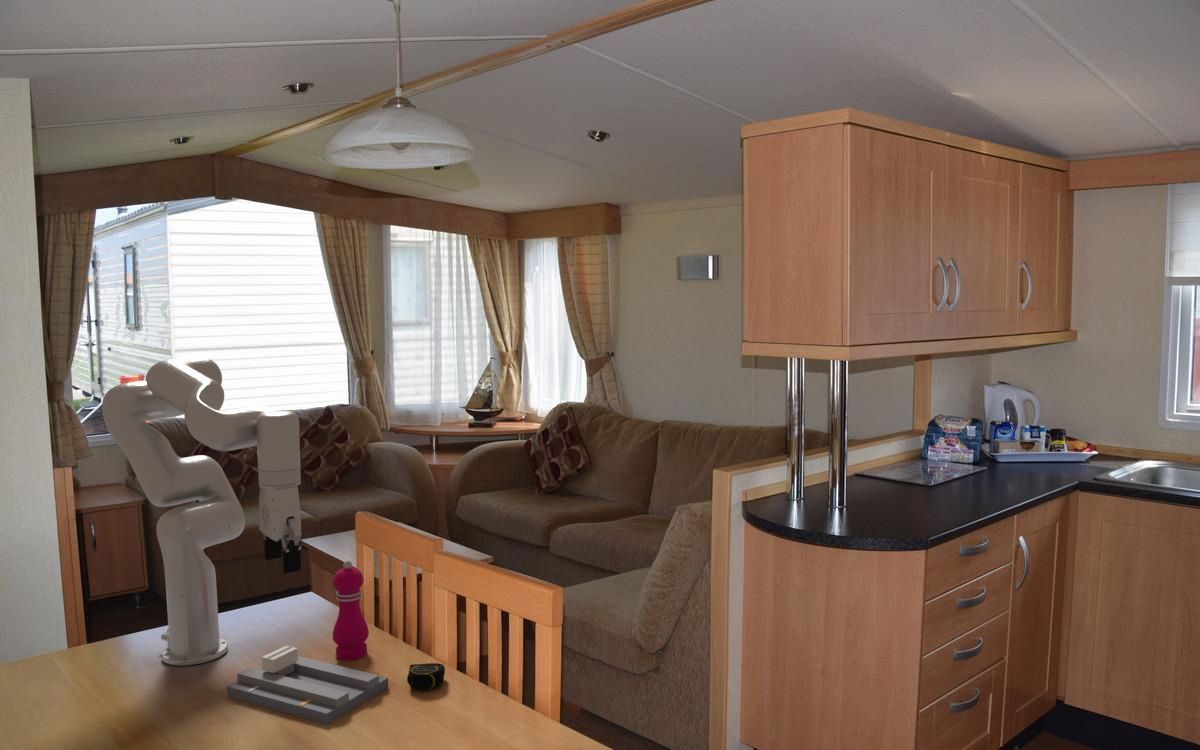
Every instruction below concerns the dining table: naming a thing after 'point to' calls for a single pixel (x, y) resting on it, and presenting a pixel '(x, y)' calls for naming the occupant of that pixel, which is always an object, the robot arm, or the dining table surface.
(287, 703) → the fader console
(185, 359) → the robot arm
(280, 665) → the fader tab
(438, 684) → the tape measure
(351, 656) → the pepper mill
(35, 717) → the dining table surface
